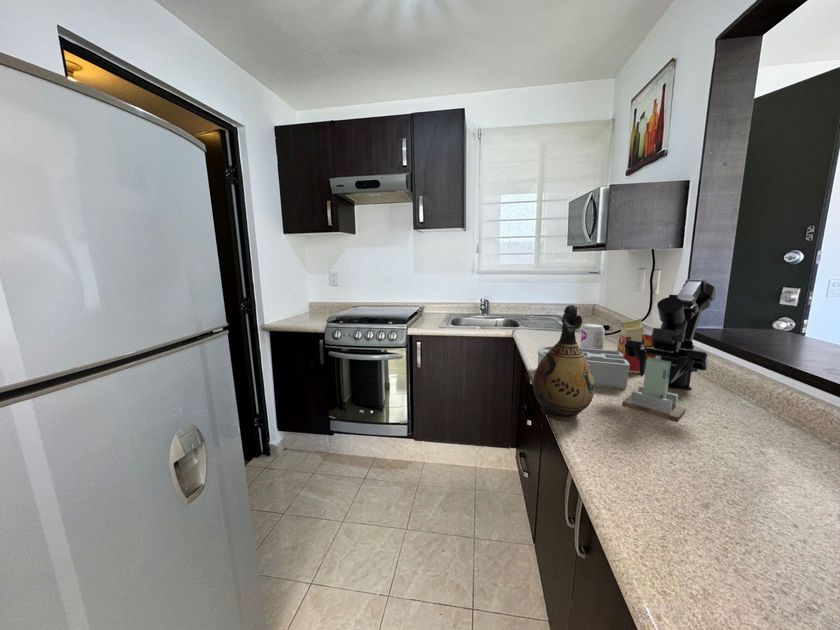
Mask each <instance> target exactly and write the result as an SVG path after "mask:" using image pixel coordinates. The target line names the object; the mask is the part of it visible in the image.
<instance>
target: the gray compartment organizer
mask: <svg viewBox="0 0 840 630" xmlns="http://www.w3.org/2000/svg"><path fill="white" fill-rule="evenodd" d="M553 346H554V345H548V346H541V347H539V348H538V349H537V357H538V358H537V366H538V365H539V363H540V362H541V360H542V359H543V358H544V356H545V355H546V354H547V353H548V352H549V350H551V349H552V347H553ZM579 348H580V347H579ZM580 350H581V351H582V353H583V354H584V356H585V358H586V360H587V362H588V364H589V365H590V368H591V371H592V374H593V377H594V386H595V385H599V386H598V387H604V386H607V387H606V388H612V387H615V389H620V388H623V389H622V390H626V389H627V387H628V378H629V372H628V371H629V369H630V364H629V363H628V361H627V360H625V359H623V354H622V353H621V352H620V351H617V350H610V349H603V350H599V349H587V348H580Z"/></svg>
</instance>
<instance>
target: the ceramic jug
mask: <svg viewBox="0 0 840 630" xmlns="http://www.w3.org/2000/svg"><path fill="white" fill-rule="evenodd" d="M563 312H564V313H563V315H562V317H561V322H562V325H561V326H562V327H561V334H560V337H559V340H558V341H557V343H555V344H554V345H552V346H553V347H552V349H551V350H549V352H548V353H547V354H546V355H545V356H544V358H543V359H542V360H541V362H540V363H539V365H538V364H537V367H536V370H535V372H534V375H533V380H532V381H533V382H532V391H533V393H534V396H535V399H536V400H537V401H538V403H539V405H540V409H541V413H542V415H544V416H547V417H548V418H551V419H553V420H557V421H573V420H575V419H576V418H577V416H578V415H579V414H580V413H581V412H583V411H584V410H585V409H586V408H588V407H589V406H590V404H591V403H592V401H593V398H594V395H595V385H594V377H593V374H592V371H591V368H590V365H589V364H588V362H587V360H586V358H585V356H584V354H583V353H582V351H581V350H580V345H579V344H578V341H577V338H576V331H577V330H579V329H580V328H581V329H582V324H583V318H582V316H581V315H579V314H578V306H576V305H574V304H569V305H567V306H565V309H564V311H563Z"/></svg>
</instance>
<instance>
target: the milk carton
mask: <svg viewBox="0 0 840 630" xmlns="http://www.w3.org/2000/svg"><path fill="white" fill-rule="evenodd" d="M642 321H643V317H640V318H637V319H633V320H624V321H620V323H621V329H620V334H619V336H618V337H619V339H618V343H617V350H616V351H620V352H621V353H622V354H623V359H625V360H627V361H628V363H629V364H630V369H629V371H628V373H632V372H634V373H633V374H640V364H639V360H637V359H636V358H635V357H632V356H629V355H627V352H626V349H625V346H624V345H625V343H626V341H628V340H629V339H630V340H636V341H642V343H643V345H645V346H646V341H645V337H644V332H645V331H644V328H643V322H642ZM644 375H645V372H644Z"/></svg>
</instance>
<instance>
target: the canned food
mask: <svg viewBox="0 0 840 630" xmlns="http://www.w3.org/2000/svg"><path fill="white" fill-rule="evenodd" d="M643 332H644V337H645V341H646V347H651V348H653V347H654V345H652V339H651V336H652V332H653V331H643ZM646 356H647V359H649V358H654V359H659V360H661V356H656V355H651V354H647V355H646Z"/></svg>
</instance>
